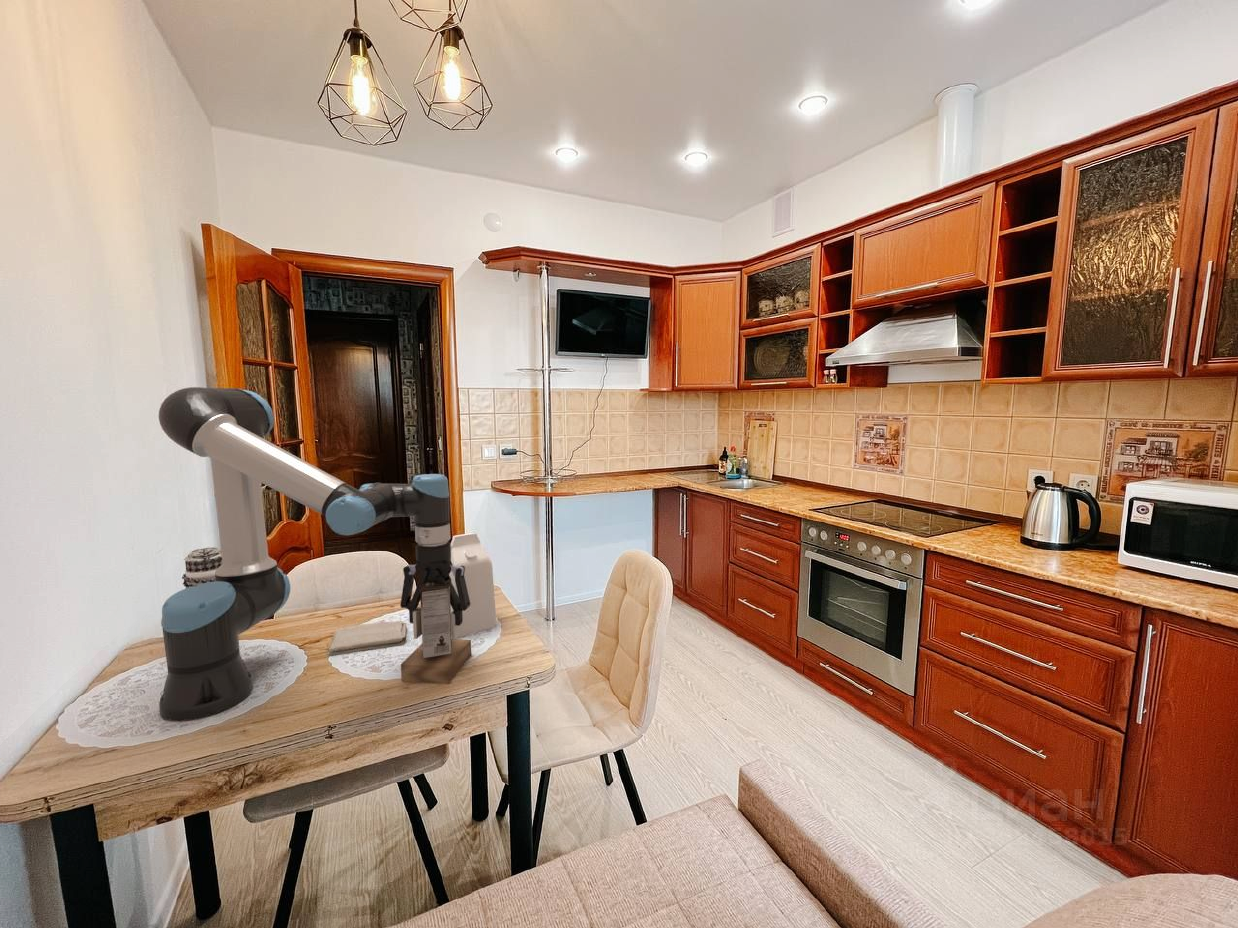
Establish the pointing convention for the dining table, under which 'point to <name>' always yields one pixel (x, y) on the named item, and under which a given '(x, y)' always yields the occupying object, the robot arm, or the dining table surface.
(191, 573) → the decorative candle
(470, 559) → the milk
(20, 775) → the dining table surface
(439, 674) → the pedestal
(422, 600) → the coffee box
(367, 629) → the washcloth
